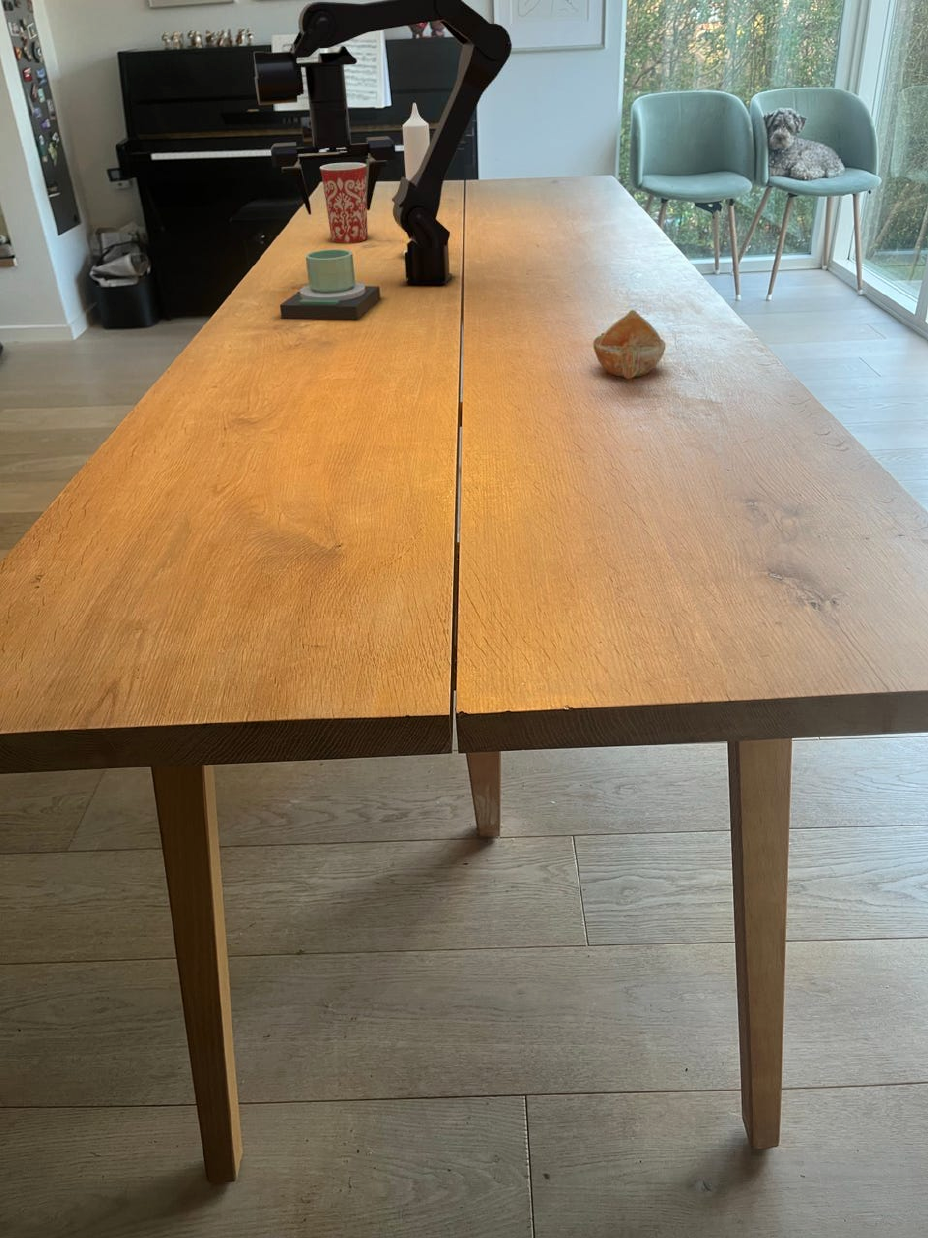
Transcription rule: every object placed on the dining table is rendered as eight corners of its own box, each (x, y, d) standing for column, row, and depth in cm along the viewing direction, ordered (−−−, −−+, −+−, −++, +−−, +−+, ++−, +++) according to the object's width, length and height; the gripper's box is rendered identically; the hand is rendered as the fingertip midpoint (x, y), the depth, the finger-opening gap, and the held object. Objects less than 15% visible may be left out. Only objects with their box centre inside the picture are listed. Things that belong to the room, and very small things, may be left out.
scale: (380, 299, 155) (379, 280, 154) (357, 319, 146) (355, 300, 144) (308, 297, 158) (306, 279, 156) (281, 318, 148) (278, 299, 147)
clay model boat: (590, 398, 113) (593, 310, 108) (594, 343, 131) (596, 265, 126) (667, 399, 112) (673, 310, 107) (660, 343, 130) (665, 265, 125)
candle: (444, 251, 184) (437, 100, 171) (439, 259, 178) (432, 103, 165) (406, 251, 185) (397, 101, 171) (401, 260, 179) (390, 105, 165)
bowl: (361, 282, 153) (358, 249, 151) (347, 294, 148) (343, 259, 145) (318, 282, 155) (314, 248, 152) (303, 293, 149) (298, 259, 146)
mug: (369, 243, 193) (363, 167, 186) (323, 244, 193) (315, 169, 186) (377, 230, 203) (371, 158, 196) (333, 231, 204) (326, 160, 197)
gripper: (384, 92, 155) (392, 199, 163) (265, 100, 153) (279, 207, 161) (391, 98, 146) (400, 210, 154) (264, 105, 144) (279, 219, 152)
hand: (339, 211), depth 155 cm, fingers open, 9 cm apart
